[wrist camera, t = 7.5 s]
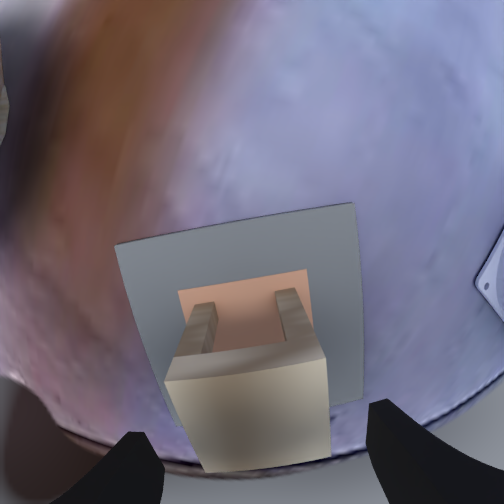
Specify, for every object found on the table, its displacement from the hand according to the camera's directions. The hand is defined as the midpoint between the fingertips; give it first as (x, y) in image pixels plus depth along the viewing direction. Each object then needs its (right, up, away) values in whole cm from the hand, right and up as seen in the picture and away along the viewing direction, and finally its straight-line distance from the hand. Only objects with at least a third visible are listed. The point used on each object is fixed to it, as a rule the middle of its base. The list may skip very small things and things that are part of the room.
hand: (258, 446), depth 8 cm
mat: (0, +2, +8) cm, 8 cm away
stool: (0, +2, +7) cm, 8 cm away
